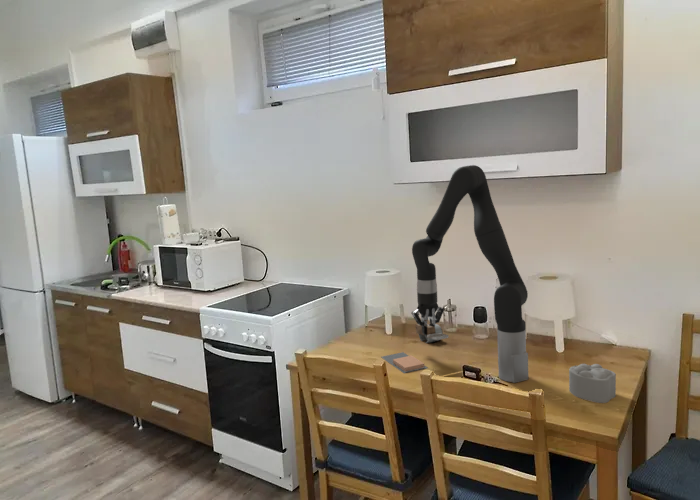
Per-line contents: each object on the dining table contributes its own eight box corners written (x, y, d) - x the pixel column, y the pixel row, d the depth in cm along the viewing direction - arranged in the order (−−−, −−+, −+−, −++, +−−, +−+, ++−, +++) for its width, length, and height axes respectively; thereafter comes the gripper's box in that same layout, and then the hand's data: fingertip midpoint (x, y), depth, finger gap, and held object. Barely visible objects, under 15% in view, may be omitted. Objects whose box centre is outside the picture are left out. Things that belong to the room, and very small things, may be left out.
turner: (413, 333, 210) (412, 325, 210) (424, 331, 212) (423, 323, 211) (436, 340, 193) (435, 330, 193) (448, 337, 195) (447, 328, 195)
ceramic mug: (444, 341, 224) (443, 324, 223) (428, 345, 220) (427, 327, 219) (429, 336, 233) (428, 319, 232) (414, 339, 230) (413, 322, 229)
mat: (428, 369, 194) (428, 368, 194) (404, 374, 191) (404, 373, 191) (403, 353, 213) (403, 352, 213) (380, 358, 209) (380, 356, 209)
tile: (411, 359, 204) (424, 367, 195) (393, 363, 201) (405, 371, 192) (411, 355, 204) (424, 363, 195) (392, 359, 201) (405, 367, 192)
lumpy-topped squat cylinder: (603, 405, 158) (603, 377, 157) (562, 393, 168) (562, 367, 167) (619, 394, 164) (619, 367, 163) (578, 383, 174) (578, 358, 173)
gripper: (415, 295, 195) (417, 340, 197) (448, 289, 200) (449, 334, 202) (406, 291, 202) (408, 335, 204) (437, 286, 207) (439, 329, 209)
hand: (428, 334), depth 203 cm, fingers closed on turner, 2 cm apart
